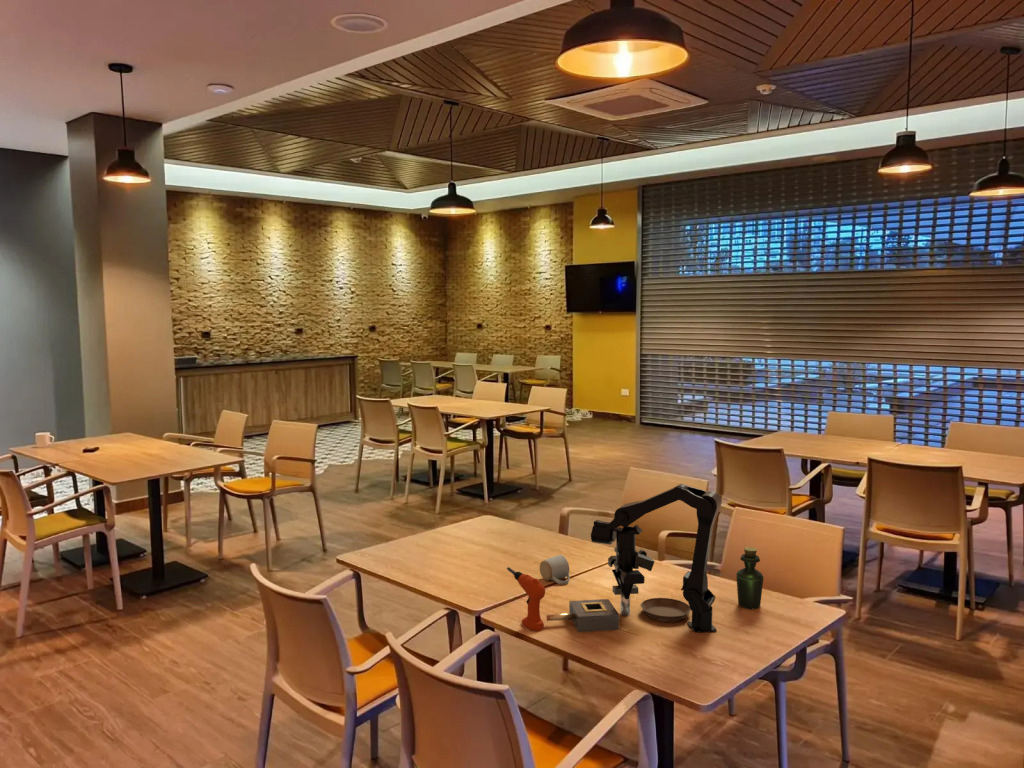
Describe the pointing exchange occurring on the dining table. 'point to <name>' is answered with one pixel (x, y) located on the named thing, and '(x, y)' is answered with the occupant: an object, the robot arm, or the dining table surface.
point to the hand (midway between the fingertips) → (625, 597)
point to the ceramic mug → (555, 569)
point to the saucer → (665, 609)
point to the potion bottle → (749, 580)
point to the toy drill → (531, 599)
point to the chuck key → (624, 602)
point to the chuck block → (590, 615)
